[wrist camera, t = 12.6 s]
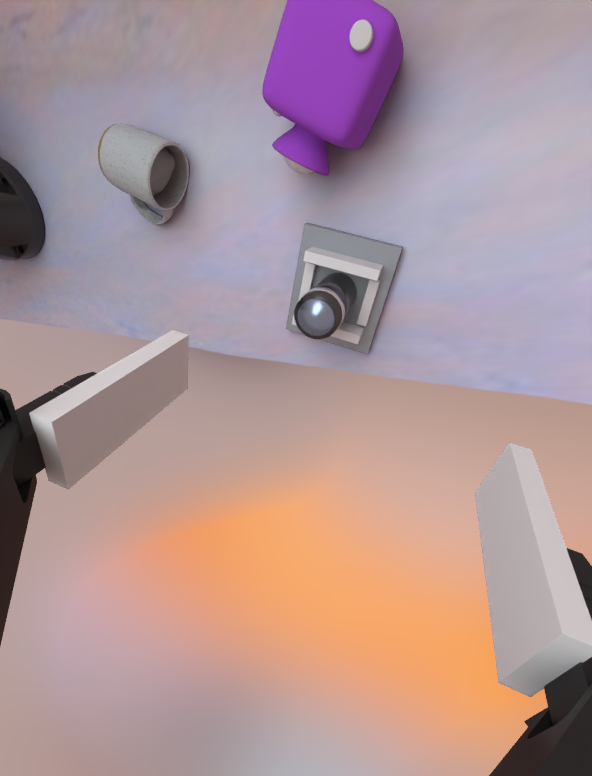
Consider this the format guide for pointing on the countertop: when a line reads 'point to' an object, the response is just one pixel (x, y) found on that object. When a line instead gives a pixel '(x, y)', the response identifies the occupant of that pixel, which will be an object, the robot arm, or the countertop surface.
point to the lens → (325, 306)
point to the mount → (358, 261)
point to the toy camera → (330, 76)
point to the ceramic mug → (144, 169)
